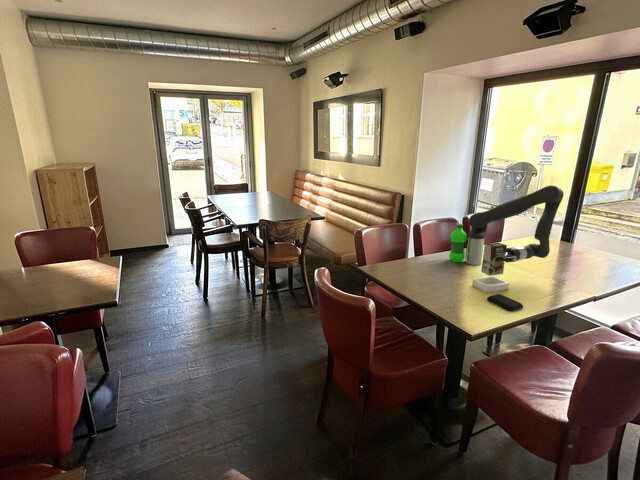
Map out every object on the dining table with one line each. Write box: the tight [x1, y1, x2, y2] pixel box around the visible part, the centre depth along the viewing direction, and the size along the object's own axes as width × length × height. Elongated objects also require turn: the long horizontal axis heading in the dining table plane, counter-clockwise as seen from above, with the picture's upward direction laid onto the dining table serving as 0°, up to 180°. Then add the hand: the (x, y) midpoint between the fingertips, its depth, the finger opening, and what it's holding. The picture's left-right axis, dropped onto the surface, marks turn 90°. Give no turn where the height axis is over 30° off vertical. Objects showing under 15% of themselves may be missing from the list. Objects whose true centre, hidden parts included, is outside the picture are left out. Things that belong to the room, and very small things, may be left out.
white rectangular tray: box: [471, 275, 510, 294], centre depth 189 cm, size 11×14×4 cm
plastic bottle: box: [448, 223, 468, 263], centre depth 230 cm, size 10×10×25 cm
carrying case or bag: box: [486, 293, 524, 312], centre depth 170 cm, size 11×3×15 cm
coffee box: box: [481, 242, 508, 277], centre depth 185 cm, size 9×6×16 cm
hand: (490, 257), depth 184 cm, fingers closed on coffee box, 6 cm apart
